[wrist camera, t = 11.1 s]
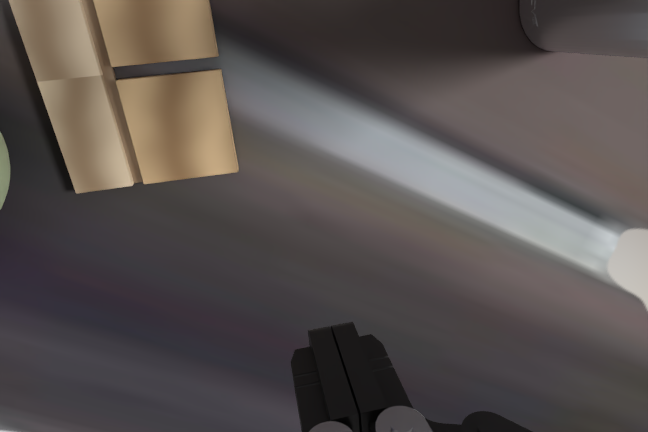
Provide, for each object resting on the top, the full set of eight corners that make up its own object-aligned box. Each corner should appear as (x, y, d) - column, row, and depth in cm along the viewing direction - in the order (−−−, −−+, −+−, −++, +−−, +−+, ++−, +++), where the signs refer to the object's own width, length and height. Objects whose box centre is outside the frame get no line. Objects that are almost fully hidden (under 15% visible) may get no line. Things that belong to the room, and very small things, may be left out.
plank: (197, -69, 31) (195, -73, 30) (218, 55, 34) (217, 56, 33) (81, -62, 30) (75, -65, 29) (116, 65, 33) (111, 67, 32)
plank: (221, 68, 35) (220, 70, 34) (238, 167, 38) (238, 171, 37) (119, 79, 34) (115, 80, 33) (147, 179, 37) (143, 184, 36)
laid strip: (77, -61, 30) (72, -65, 29) (144, 180, 37) (141, 184, 36) (-4, -56, 29) (-13, -60, 28) (80, 188, 37) (76, 193, 36)
